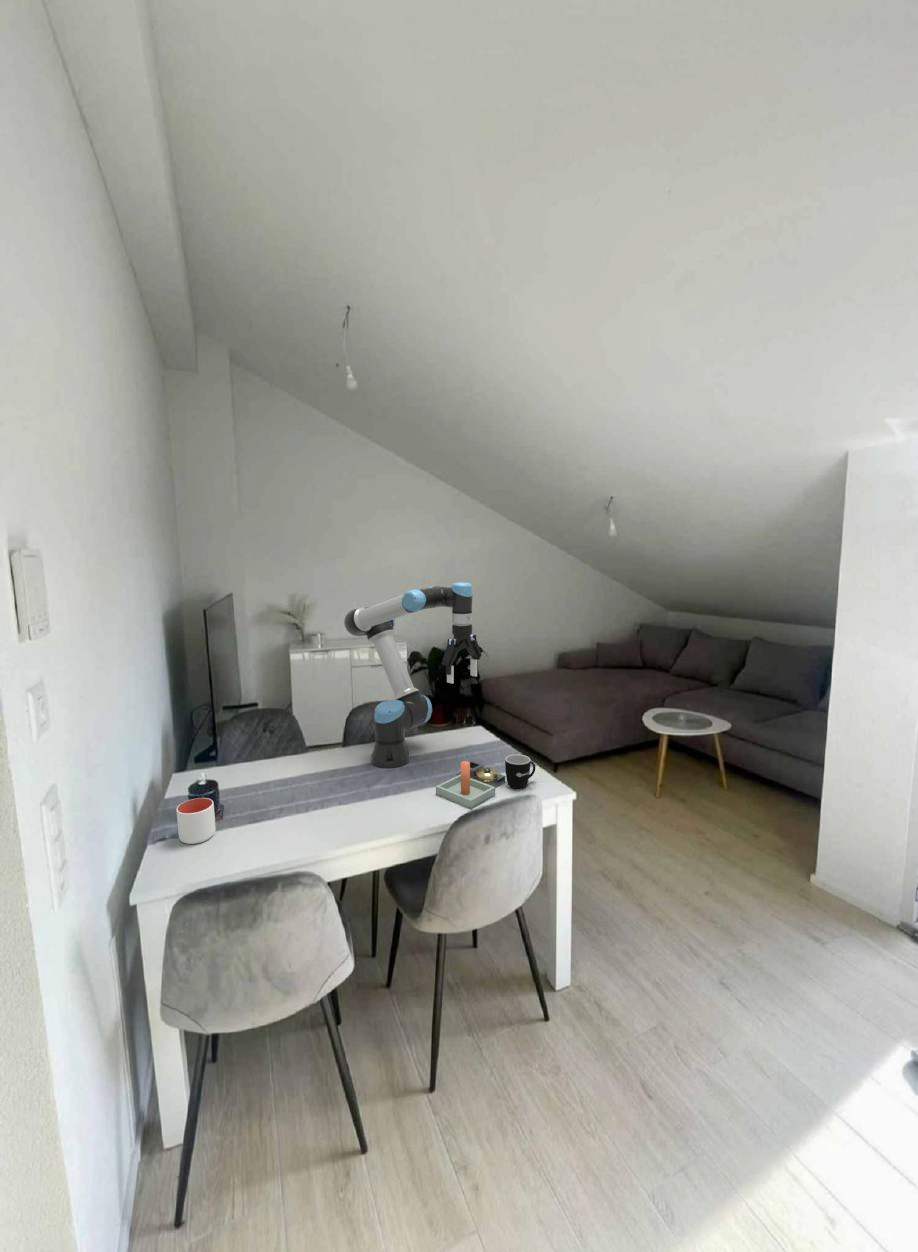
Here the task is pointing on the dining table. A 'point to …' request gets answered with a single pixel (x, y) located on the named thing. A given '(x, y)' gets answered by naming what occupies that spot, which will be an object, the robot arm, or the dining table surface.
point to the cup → (196, 820)
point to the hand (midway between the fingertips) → (462, 679)
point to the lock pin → (465, 777)
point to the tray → (476, 797)
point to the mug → (518, 771)
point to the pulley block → (485, 774)
